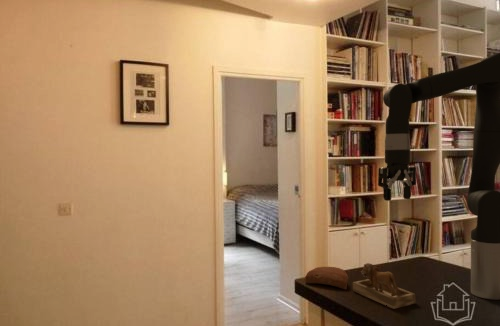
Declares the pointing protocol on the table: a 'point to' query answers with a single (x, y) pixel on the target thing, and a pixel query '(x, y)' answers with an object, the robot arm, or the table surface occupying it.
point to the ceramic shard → (328, 277)
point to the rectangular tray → (384, 294)
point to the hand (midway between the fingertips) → (397, 199)
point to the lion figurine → (380, 278)
